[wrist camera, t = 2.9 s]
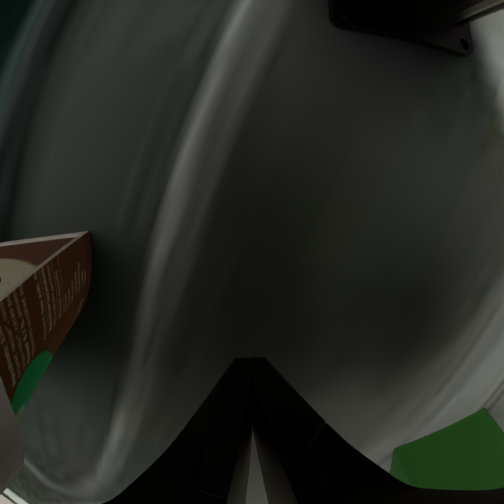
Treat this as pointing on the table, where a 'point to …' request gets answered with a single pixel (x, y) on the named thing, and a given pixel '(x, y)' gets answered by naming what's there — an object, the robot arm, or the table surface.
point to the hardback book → (454, 456)
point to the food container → (35, 323)
